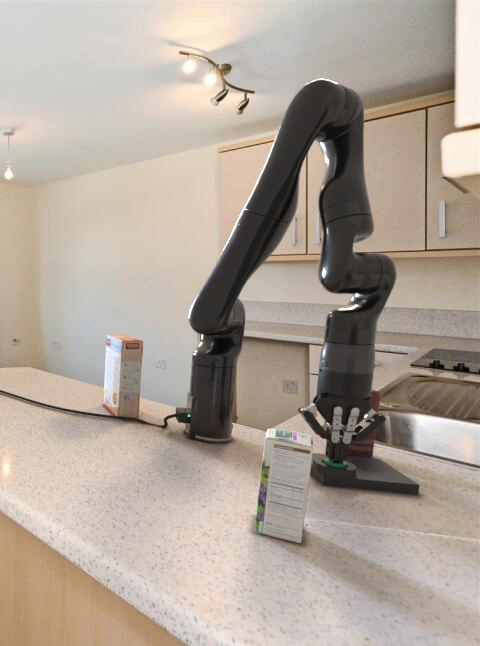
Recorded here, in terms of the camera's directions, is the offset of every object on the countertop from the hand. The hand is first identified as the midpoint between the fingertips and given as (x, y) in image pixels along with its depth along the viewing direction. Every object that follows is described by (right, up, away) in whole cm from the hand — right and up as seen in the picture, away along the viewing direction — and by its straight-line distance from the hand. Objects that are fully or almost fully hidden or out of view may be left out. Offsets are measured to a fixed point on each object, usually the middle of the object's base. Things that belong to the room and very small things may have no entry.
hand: (335, 461), depth 85 cm
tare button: (0, -2, 0) cm, 2 cm away
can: (+15, -2, +13) cm, 20 cm away
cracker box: (-24, +2, +45) cm, 51 cm away
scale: (+5, -4, +3) cm, 7 cm away
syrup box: (-21, -6, -16) cm, 27 cm away
